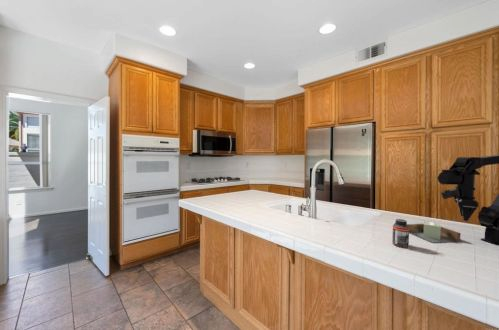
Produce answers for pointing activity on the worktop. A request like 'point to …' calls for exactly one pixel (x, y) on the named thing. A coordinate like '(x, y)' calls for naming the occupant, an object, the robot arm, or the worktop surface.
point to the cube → (432, 230)
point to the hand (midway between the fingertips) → (464, 218)
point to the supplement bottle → (400, 233)
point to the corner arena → (445, 236)
